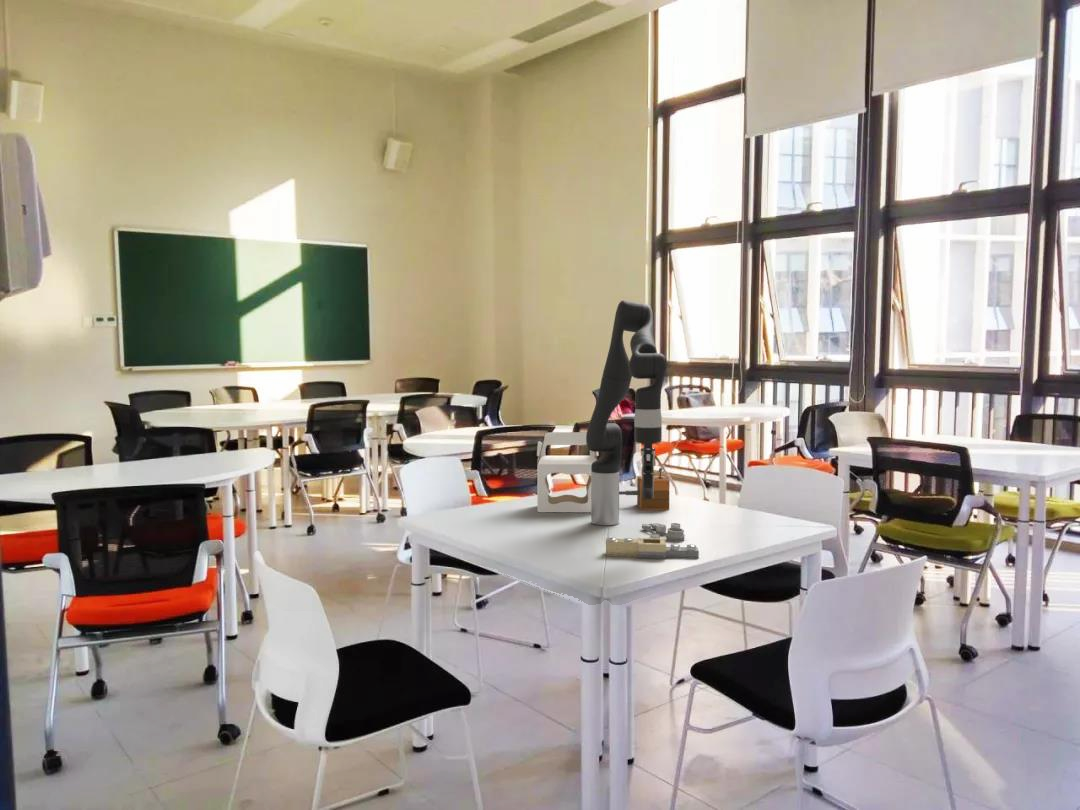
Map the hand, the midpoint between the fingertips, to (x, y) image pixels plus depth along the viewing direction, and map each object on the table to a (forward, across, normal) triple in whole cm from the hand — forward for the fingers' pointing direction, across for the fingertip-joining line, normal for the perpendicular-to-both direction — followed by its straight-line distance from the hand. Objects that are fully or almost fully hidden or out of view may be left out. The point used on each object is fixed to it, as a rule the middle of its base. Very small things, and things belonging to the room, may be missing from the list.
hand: (647, 486), depth 225 cm
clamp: (+19, +69, +2) cm, 72 cm away
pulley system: (+20, +21, -4) cm, 29 cm away
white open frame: (+19, +63, +28) cm, 71 cm away
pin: (+3, 0, 0) cm, 3 cm away
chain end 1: (+19, 0, +3) cm, 20 cm away
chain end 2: (+19, 0, -6) cm, 20 cm away
